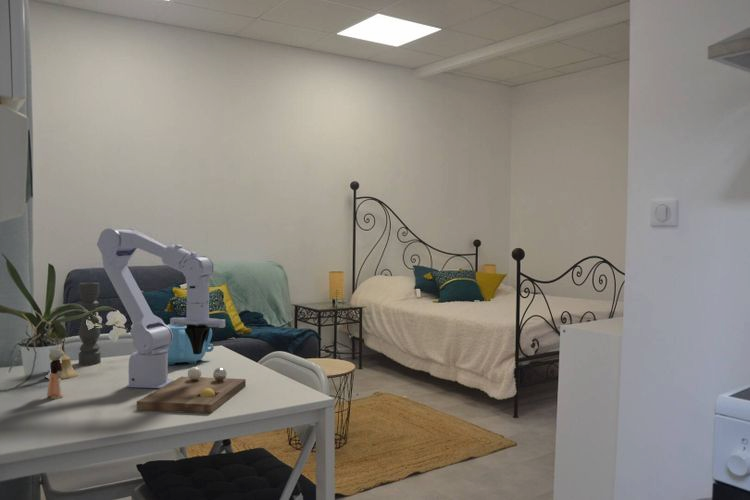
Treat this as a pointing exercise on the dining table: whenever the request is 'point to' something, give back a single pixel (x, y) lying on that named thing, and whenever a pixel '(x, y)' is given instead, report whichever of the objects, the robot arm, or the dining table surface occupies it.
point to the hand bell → (67, 366)
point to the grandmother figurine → (55, 373)
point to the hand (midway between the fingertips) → (197, 353)
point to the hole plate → (191, 395)
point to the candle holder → (88, 337)
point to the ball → (207, 393)
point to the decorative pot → (185, 347)
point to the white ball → (194, 373)
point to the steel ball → (219, 374)
